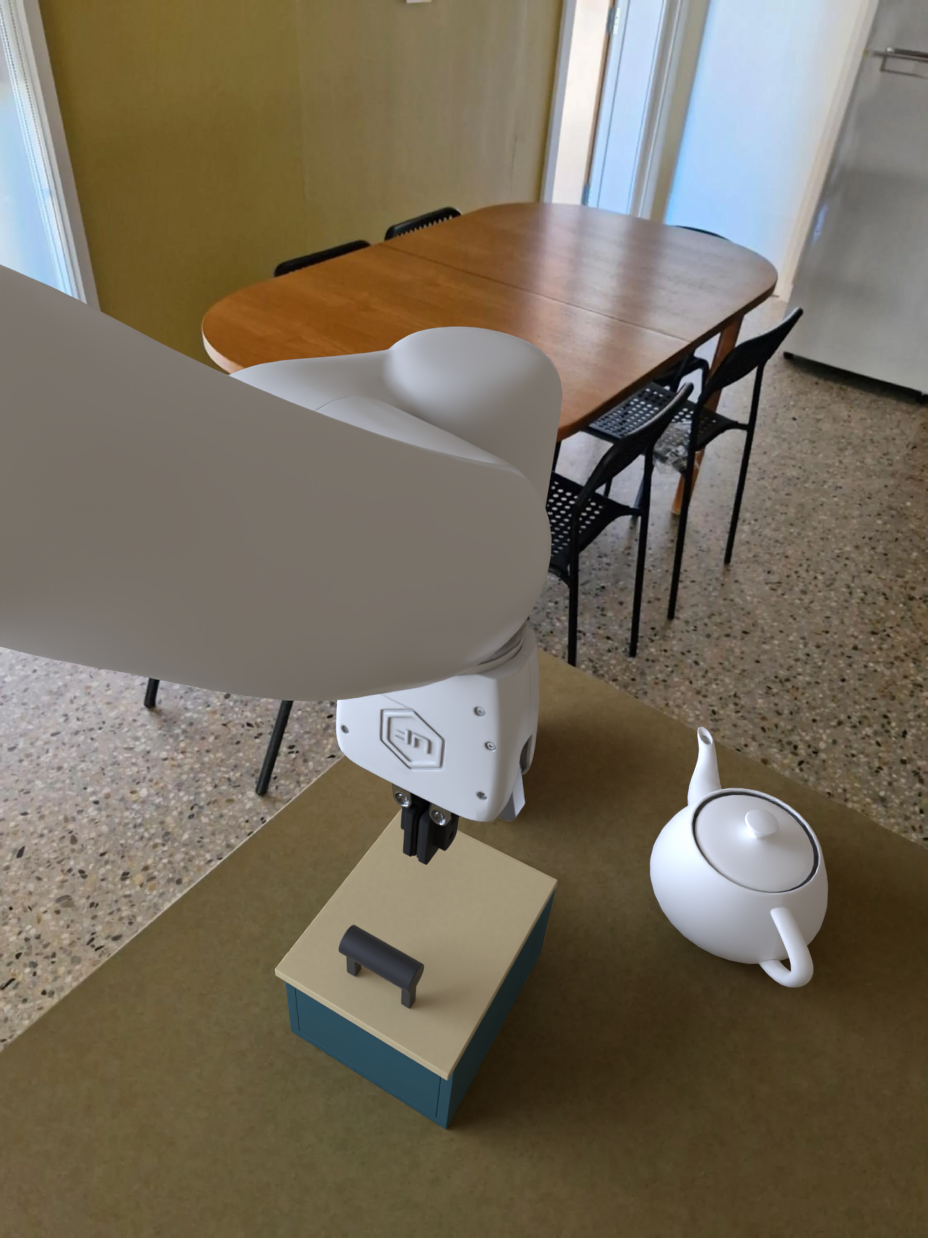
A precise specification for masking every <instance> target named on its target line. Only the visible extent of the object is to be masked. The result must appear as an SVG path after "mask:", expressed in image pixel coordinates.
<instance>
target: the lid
mask: <svg viewBox="0 0 928 1238" xmlns="http://www.w3.org/2000/svg"><path fill="white" fill-rule="evenodd" d="M401 811H402V808H400V810H399V811H398V812H397V814H395V816H394V817H393V818H392V820H391V821H390V822H389V824H388V825H387V826H386V827H385V829H384V830H383V831H382V833H381V834H380V835H379V836H378V837H377V838H376V840H375V841H374V843H373V844H372V845H371V847H370V848H369V849H368V850H367V852H366V853H365V854H364V856H362V858H360V860H359V862H357V865H355V867H354V868H353V869H352V871H350V873H349V874H348V875H347V877H346V878H345V880H344V881H343V882H342V883H341V885H340V886H339V887H338V888H337V890H336V891H335V892H334V893H333V895H332V896H331V897H330V898H329V899H328V901H327V902H326V904H325V905H324V906H323V907H322V909H321V910H320V911H319V912H318V914H316V916H315V918H314V919H313V920H312V921H311V923H310V924H309V925H308V926H307V927H306V929H305V930H304V931H303V933H302V934H301V936H300V937H299V938H298V939H297V940H296V941H295V943H294V944H293V946H292V947H291V948H290V949H289V951H288V952H287V953H286V954H285V956H284V957H283V958H282V959H281V961H280V962H279V963H278V965H277V966H276V967H275V969H274V974H275V976H276V977H278V978H279V979H281V980H282V981H284V982H285V981H286V982H287V983H289V984H291V985H292V986H294V987H295V988H297V989H299V990H300V991H302V992H304V993H305V994H307V995H308V996H310V997H312V998H313V999H315V1000H317V1001H318V1002H320V1003H322V1004H323V1005H325V1006H326V1007H328V1008H330V1009H331V1010H333V1011H335V1012H336V1013H338V1014H339V1015H341V1016H343V1017H344V1018H346V1019H348V1020H349V1021H351V1022H352V1023H354V1024H356V1025H357V1026H359V1027H361V1028H362V1029H364V1030H366V1031H367V1032H369V1033H370V1034H372V1035H374V1036H375V1037H377V1038H379V1039H380V1040H382V1041H383V1042H385V1043H387V1044H388V1045H390V1046H392V1047H393V1048H395V1049H396V1050H398V1051H400V1052H401V1053H403V1054H405V1055H406V1056H408V1057H409V1058H411V1059H413V1060H414V1061H416V1062H418V1063H419V1064H421V1065H423V1066H424V1067H426V1068H427V1069H429V1070H431V1071H432V1072H434V1073H436V1074H437V1075H439V1076H440V1077H442V1078H444V1079H445V1080H447V1081H448V1080H449V1078H450V1076H451V1074H452V1072H453V1071H454V1069H455V1067H456V1065H457V1063H458V1062H459V1060H460V1058H461V1056H462V1055H463V1053H464V1051H465V1049H466V1047H467V1046H468V1044H469V1042H470V1040H471V1038H472V1037H473V1035H474V1033H475V1031H476V1029H477V1028H478V1026H479V1024H480V1022H481V1021H482V1019H483V1017H484V1015H485V1013H486V1012H487V1010H488V1008H489V1006H490V1004H491V1003H492V1001H493V999H494V997H495V995H496V994H497V992H498V990H499V988H500V987H501V985H502V983H503V981H504V979H505V978H506V976H507V974H508V972H509V970H510V969H511V967H512V965H513V963H514V961H515V960H516V958H517V956H518V954H519V953H520V951H521V949H522V947H523V945H524V944H525V942H526V940H527V938H528V936H529V935H530V933H531V931H532V929H533V928H534V926H535V924H536V922H537V920H538V919H539V917H540V915H541V913H542V911H543V910H544V908H545V906H546V904H547V902H548V901H549V899H550V897H551V895H552V894H553V892H554V890H555V888H556V889H557V887H558V886H557V885H558V879H556V878H555V877H553V876H550V875H549V874H546V873H544V872H542V871H540V870H538V869H537V868H534V867H533V866H531V865H529V864H527V863H525V862H522V861H520V860H518V859H516V858H515V857H512V856H511V855H508V854H506V853H505V852H502V851H500V850H499V849H497V848H495V847H492V846H491V845H489V844H486V843H485V842H483V841H480V840H478V839H476V838H474V837H473V836H471V835H469V834H466V833H465V832H463V831H460V830H458V829H457V834H456V836H455V838H454V840H453V842H452V844H451V845H450V846H449V848H448V849H447V850H446V851H443V850H441V849H438V851H437V852H436V853H435V855H434V856H433V858H432V859H431V860H430V862H429V863H428V864H427V865H425V864H423V863H421V862H419V861H418V858H417V857H416V856H412V857H410V856H408V855H406V854H404V853H403V840H404V830H403V829H401ZM555 891H556V890H555ZM286 982H285V983H286Z"/></svg>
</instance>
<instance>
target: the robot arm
mask: <svg viewBox="0 0 928 1238" xmlns="http://www.w3.org/2000/svg"><path fill="white" fill-rule="evenodd" d="M562 403H563V388H562V380H561V377H560V373H559V371H558V369H557V367H556V365H555V364H554V362H553V361H552V359H551V358H550V357H549V356H548V355H547V354H546V353H545V352H544V351H543V350H542V349H541V348H540V347H538V346H537V345H535V344H533V343H532V342H530V341H528V340H525V339H524V338H521V337H518V336H515V335H513V334H510V333H505V332H503V331H498V330H493V329H489V328H482V327H477V326H476V327H475V326H444V327H443V326H442V327H433V328H426V329H423V330H419V331H416V332H413V333H410V334H409V335H407V336H405V337H403V338H401V339H400V340H398V341H397V342H395V343H394V344H393V345H391V346H390V347H389V348H388V349H383V350H377V351H370V352H363V353H352V354H343V355H342V354H341V355H333V356H332V355H331V356H321V357H320V356H318V357H308V358H294V359H284V360H277V361H271V362H264V363H259V364H256V365H252V366H248V367H246V368H243V369H240V370H237V371H234V372H232V373H229V374H226V373H224V372H222V371H220V370H218V369H215V368H213V367H211V366H209V365H207V364H204V363H203V362H200V361H199V360H196V359H195V358H193V357H190V356H188V355H186V354H184V353H182V352H180V351H177V350H176V349H173V348H172V347H170V346H167V345H166V344H164V343H162V342H160V341H157V340H156V339H154V338H152V337H151V336H148V335H146V334H144V333H143V332H140V331H139V330H137V329H135V328H134V327H131V326H129V325H128V324H125V323H124V322H122V321H120V320H118V319H116V318H115V317H112V316H111V315H109V314H107V313H105V312H103V311H101V310H99V309H97V308H96V307H94V306H91V305H90V304H88V303H85V302H84V301H82V300H80V299H78V298H76V297H74V296H72V295H70V294H68V293H66V292H63V291H61V290H59V289H57V288H55V287H53V286H51V285H48V284H46V283H44V282H42V281H40V280H37V279H35V278H34V277H33V278H32V277H30V276H28V275H26V274H23V273H21V272H19V271H17V270H15V269H12V268H11V267H7V266H4V265H3V264H0V648H5V649H8V650H12V651H15V652H19V653H23V654H27V655H32V656H37V657H41V658H44V659H50V660H53V661H58V662H64V663H70V664H75V665H81V666H84V667H85V666H86V667H91V668H96V669H101V670H107V671H113V672H117V673H124V674H129V675H130V674H131V675H133V676H139V677H143V678H148V679H153V680H158V681H163V682H167V683H173V684H177V685H182V686H187V687H188V686H189V687H193V688H198V689H202V690H203V689H204V690H207V691H212V692H220V693H226V694H232V695H238V696H243V697H252V698H260V699H269V700H270V699H271V700H277V701H293V702H295V701H297V702H327V701H329V702H330V701H331V702H332V701H337V702H336V717H335V733H336V741H337V744H338V747H339V749H340V751H341V752H342V753H343V755H344V756H346V758H348V759H349V760H350V761H352V762H353V763H354V764H356V765H357V766H359V767H361V768H362V769H364V770H366V771H368V772H370V773H372V774H374V775H376V776H378V777H379V778H381V779H384V780H385V781H387V782H389V783H391V791H392V797H393V799H394V801H395V802H396V803H397V804H398V805H399V806H400V807H401V809H402V811H401V829H403V830H404V840H403V853H404V854H406V855H408V856H410V857H412V856H416V857H417V858H418V861H419V862H421V863H423V864H425V865H427V864H428V863H429V862H430V860H431V859H432V858H433V856H434V855H435V853H436V852H437V851H438V849H441V850H443V851H446V850H447V849H448V848H449V846H450V845H451V844H452V842H453V840H454V838H455V836H456V834H457V830H458V828H459V821H460V818H461V817H462V818H465V819H467V820H470V821H475V822H480V823H489V822H494V821H495V820H496V819H500V820H503V821H506V822H514V821H515V820H516V818H517V817H518V816H519V814H520V813H521V811H522V810H523V808H524V806H525V804H526V800H525V799H526V798H525V791H524V782H523V775H526V774H527V773H529V770H530V769H531V766H532V762H533V759H534V754H535V749H536V741H537V733H538V725H539V711H540V689H541V688H540V687H541V685H540V661H539V651H538V642H537V637H536V632H535V631H534V629H533V628H531V627H530V626H528V625H527V623H528V622H527V621H528V618H529V617H530V615H531V613H532V612H533V610H534V608H535V606H536V604H537V602H538V601H539V599H540V597H541V594H542V591H543V589H544V586H545V583H546V581H547V577H548V572H549V566H550V562H551V557H552V532H551V524H550V519H549V516H548V513H547V509H546V506H547V499H548V493H549V488H550V480H551V477H552V476H551V475H552V469H553V463H554V456H555V450H556V444H557V438H558V432H559V426H560V419H561V412H562Z"/></svg>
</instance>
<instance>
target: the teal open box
mask: <svg viewBox="0 0 928 1238" xmlns="http://www.w3.org/2000/svg"><path fill="white" fill-rule="evenodd" d="M556 890H557V887H556V888H555V890H554V892H553V894H552V895H551V897H550V899H549V901H548V902H547V904H546V906H545V908H544V910H543V911H542V913H541V915H540V917H539V919H538V920H537V922H536V924H535V926H534V928H533V929H532V931H531V933H530V935H529V936H528V938H527V940H526V942H525V944H524V945H523V947H522V949H521V951H520V953H519V954H518V956H517V958H516V960H515V961H514V963H513V965H512V967H511V969H510V970H509V972H508V974H507V976H506V978H505V979H504V981H503V983H502V985H501V987H500V988H499V990H498V992H497V994H496V995H495V997H494V999H493V1001H492V1003H491V1004H490V1006H489V1008H488V1010H487V1012H486V1013H485V1015H484V1017H483V1019H482V1021H481V1022H480V1024H479V1026H478V1028H477V1029H476V1031H475V1033H474V1035H473V1037H472V1038H471V1040H470V1042H469V1044H468V1046H467V1047H466V1049H465V1051H464V1053H463V1055H462V1056H461V1058H460V1060H459V1062H458V1063H457V1065H456V1067H455V1069H454V1071H453V1072H452V1074H451V1076H450V1078H449V1080H448V1081H447V1080H445V1079H444V1078H442V1077H440V1076H439V1075H437V1074H436V1073H434V1072H432V1071H431V1070H429V1069H427V1068H426V1067H424V1066H423V1065H421V1064H419V1063H418V1062H416V1061H414V1060H413V1059H411V1058H409V1057H408V1056H406V1055H405V1054H403V1053H401V1052H400V1051H398V1050H396V1049H395V1048H393V1047H392V1046H390V1045H388V1044H387V1043H385V1042H383V1041H382V1040H380V1039H379V1038H377V1037H375V1036H374V1035H372V1034H370V1033H369V1032H367V1031H366V1030H364V1029H362V1028H361V1027H359V1026H357V1025H356V1024H354V1023H352V1022H351V1021H349V1020H348V1019H346V1018H344V1017H343V1016H341V1015H339V1014H338V1013H336V1012H335V1011H333V1010H331V1009H330V1008H328V1007H326V1006H325V1005H323V1004H322V1003H320V1002H318V1001H317V1000H315V999H313V998H312V997H310V996H308V995H307V994H305V993H304V992H302V991H300V990H299V989H297V988H295V987H294V986H292V985H291V984H289V983H287V982H286V981H284V982H285V990H286V999H287V1006H288V1016H289V1024H290V1032H292V1033H293V1034H295V1035H296V1036H298V1037H300V1038H301V1039H302V1040H304V1041H306V1042H307V1043H309V1044H311V1045H312V1046H314V1047H315V1048H317V1049H319V1050H320V1051H321V1052H323V1053H324V1054H326V1055H328V1056H330V1057H331V1058H332V1059H334V1060H335V1061H337V1062H339V1063H340V1064H342V1065H343V1066H345V1067H347V1068H348V1069H349V1070H351V1071H353V1072H355V1073H356V1074H358V1075H359V1076H361V1077H362V1078H364V1080H365V1079H366V1080H367V1081H369V1082H370V1083H372V1084H373V1085H375V1086H376V1087H377V1088H379V1089H381V1090H383V1091H384V1092H386V1093H387V1094H389V1095H390V1096H391V1097H394V1098H395V1099H396V1100H399V1101H400V1102H401V1103H403V1104H405V1105H406V1106H408V1107H409V1108H411V1109H413V1110H414V1111H416V1112H417V1113H419V1114H420V1115H422V1116H423V1117H425V1118H427V1119H428V1120H430V1121H431V1122H433V1123H435V1124H436V1125H437V1126H439V1127H441V1128H442V1129H444V1130H447V1129H448V1127H449V1125H450V1123H451V1122H452V1120H453V1119H454V1116H455V1114H456V1112H457V1110H458V1109H459V1107H460V1105H461V1103H462V1101H463V1099H464V1098H465V1096H466V1094H467V1092H468V1090H469V1088H470V1087H471V1085H472V1083H473V1081H474V1079H475V1077H476V1075H477V1073H478V1072H479V1070H480V1068H481V1067H482V1064H483V1062H484V1060H485V1059H486V1057H487V1055H488V1053H489V1051H490V1049H491V1048H492V1046H493V1043H494V1041H496V1038H497V1036H498V1034H499V1032H500V1031H501V1029H502V1027H503V1025H504V1023H505V1022H506V1019H508V1016H509V1014H510V1012H511V1011H512V1008H513V1007H514V1005H515V1003H516V1001H517V999H518V997H519V995H520V994H521V992H522V991H523V988H524V986H525V984H526V982H527V981H528V979H529V977H530V975H531V973H532V971H533V969H534V967H535V966H536V964H537V962H538V960H539V958H540V956H541V955H542V951H543V945H544V942H545V938H546V933H547V928H548V924H549V920H550V916H551V913H552V912H551V911H552V907H553V903H554V898H555V894H556Z"/></svg>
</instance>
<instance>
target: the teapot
mask: <svg viewBox="0 0 928 1238" xmlns="http://www.w3.org/2000/svg"><path fill="white" fill-rule="evenodd" d="M696 732H697V742H698V754H697V755H698V757H697V760H696V764H695V768H694V771H693V773H692V776H691V779H690V782H689V786H688V791H687V806H685V807H683V808H682V809H681V810H680V811H678V812H676V814H675V815H673V817H671V819H670V820H669V821H668V822H667V823H666V824H665V825H664V826H663V827H662V829H661V830H660V833H659V834H658V835H657V838H656V840H655V842H654V844H653V847H652V851H651V855H650V859H649V877H650V881H651V882H650V883H651V885H652V890H653V893H654V896H655V898H656V901H657V902H658V905H659V907H660V909H661V911H662V913H664V915H665V917H666V918H667V919H668V921H669V922H670V923H671V925H672V926H673V927H674V928H676V930H678V931H679V933H680V934H681V935H682V936H683V937H684V938H686V939H687V940H689V941H690V942H691V943H692V944H694V945H695V946H697V947H698V948H700V949H702V950H703V951H706V952H707V953H709V954H711V955H713V956H716V957H719V958H722V959H725V960H727V961H731V962H736V963H741V964H746V965H755V964H756V965H759V966H760V967H761V968H762V970H764V972H765V973H766V974H767V975H768V976H769V977H770V978H771V979H773V981H775V982H776V983H778V984H780V985H781V986H784V987H786V988H801V987H803V986H806V985H807V984H808V983H809V982H810V981H811V980H812V978H813V975H814V963H813V959H812V956H811V954H810V950H809V947H808V945H809V944H811V943H812V942H813V941H814V939H815V937H816V936H817V934H819V931H820V930H821V928H822V925H823V922H824V919H825V916H826V913H827V909H828V895H829V883H828V875H827V874H828V873H827V869H826V865H825V864H826V863H825V858H824V854H823V850H822V846H821V843H820V841H819V839H818V837H817V835H816V833H815V831H814V830H813V828H812V827H811V825H810V824H809V823H808V821H806V819H805V818H804V817H803V816H802V815H801V814H800V813H799V812H798V811H796V810H795V809H794V808H793V807H792V806H790V805H789V804H787V803H786V802H784V801H783V800H781V799H779V798H777V797H775V796H773V795H770V794H768V793H765V792H762V791H760V790H756V789H751V788H750V789H749V788H745V787H744V788H743V787H728V788H722V784H721V780H720V773H719V766H718V758H717V751H716V750H717V749H716V745H715V744H716V743H715V741H714V738H713V736H712V734H711V732H710V731H709V730H708V729H707V728H706V727H704V726H699V727H698V728H697V731H696ZM787 959H789V962H790V970H789V969H788V968H787V967H786V966H785V965H783V963H782V962H781V961H784V960H787Z"/></svg>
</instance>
